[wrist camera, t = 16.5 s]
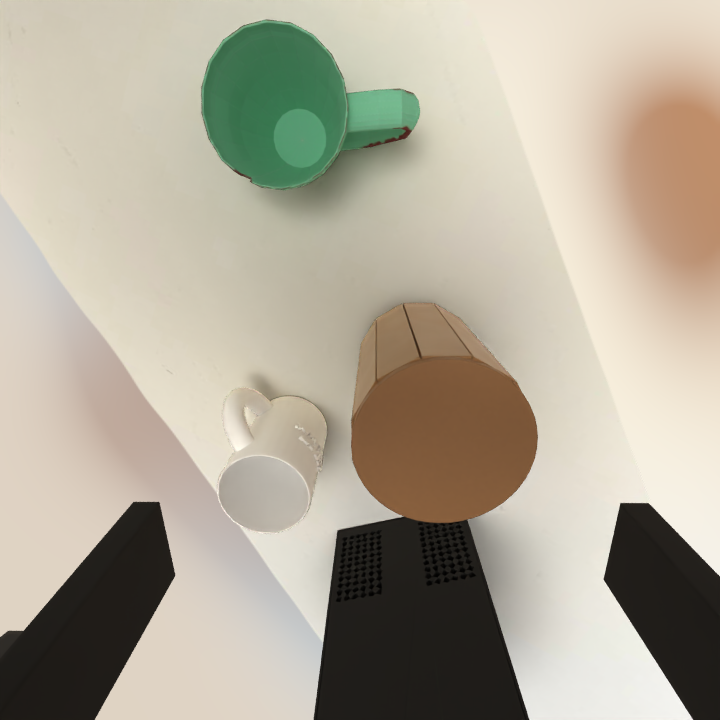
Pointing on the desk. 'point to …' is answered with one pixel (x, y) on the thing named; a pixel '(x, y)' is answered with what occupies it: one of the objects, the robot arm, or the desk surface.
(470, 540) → the gaming console
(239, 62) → the mug
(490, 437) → the round wooden block
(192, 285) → the desk surface
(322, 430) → the mug
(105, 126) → the desk surface
